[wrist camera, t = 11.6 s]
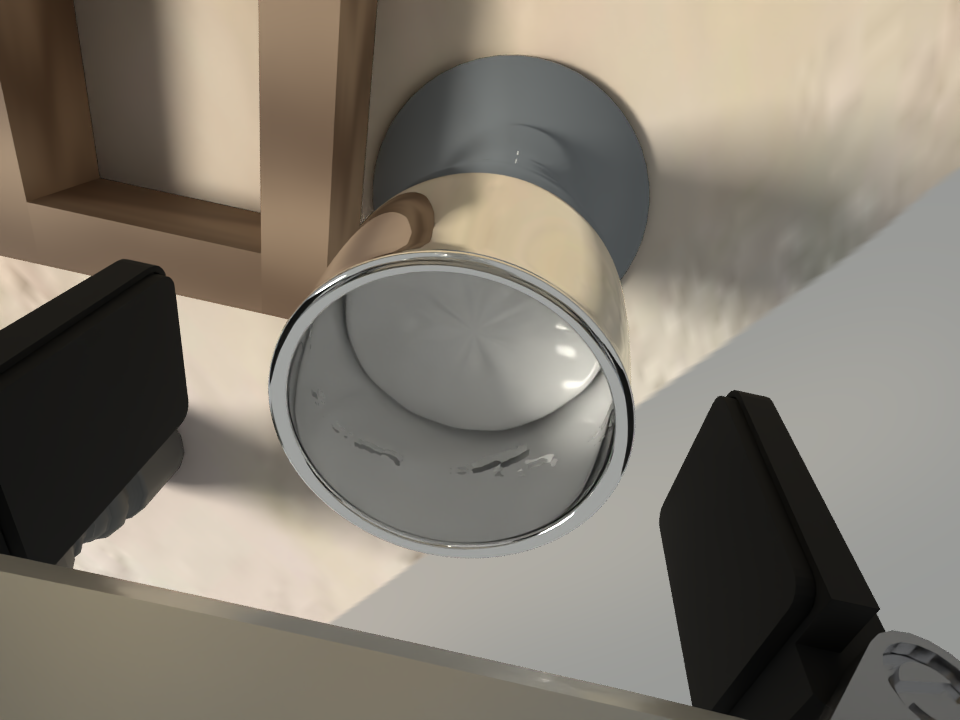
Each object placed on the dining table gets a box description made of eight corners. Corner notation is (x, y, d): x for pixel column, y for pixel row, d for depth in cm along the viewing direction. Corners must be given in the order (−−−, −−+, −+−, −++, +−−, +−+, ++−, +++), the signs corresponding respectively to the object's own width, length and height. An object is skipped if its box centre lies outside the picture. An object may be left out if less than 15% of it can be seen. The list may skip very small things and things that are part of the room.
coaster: (389, 25, 21) (386, 25, 21) (690, 89, 21) (692, 90, 21) (365, 299, 27) (362, 303, 26) (602, 352, 26) (602, 356, 26)
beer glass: (633, 228, 23) (721, 485, 10) (490, 315, 26) (418, 607, 13) (535, 69, 21) (489, 141, 8) (389, 182, 23) (176, 376, 10)
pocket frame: (-26, -185, 19) (-151, -229, 16) (385, -98, 19) (346, -125, 16) (54, 221, 27) (-22, 251, 23) (355, 287, 26) (324, 327, 23)
